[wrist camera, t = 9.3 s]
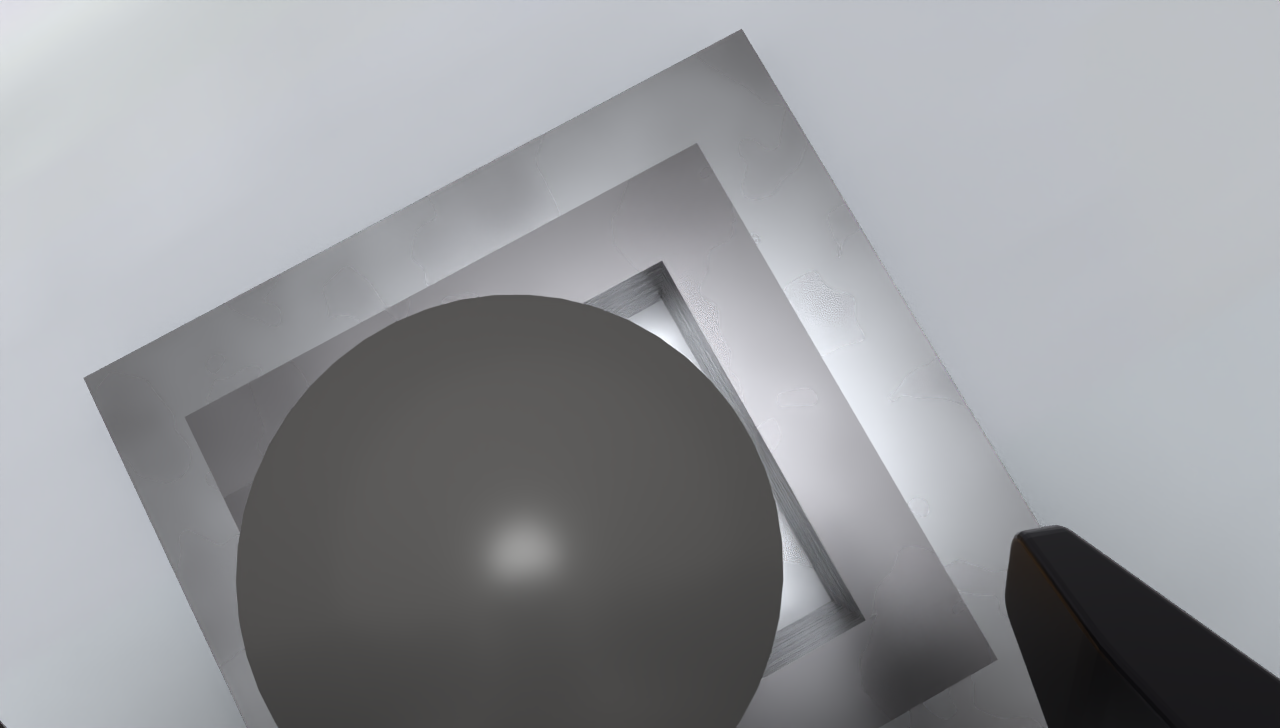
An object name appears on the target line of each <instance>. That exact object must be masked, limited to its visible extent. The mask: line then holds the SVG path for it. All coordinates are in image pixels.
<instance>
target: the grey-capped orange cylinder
mask: <svg viewBox="0 0 1280 728" xmlns="http://www.w3.org/2000/svg"><path fill="white" fill-rule="evenodd" d="M782 589H783V546H782V537H781V531H780V525H779V518H778V512H777V506H776V503H775V499H774V496H773V493H772V489H771V486H770V482H769V479H768V476H767V472H766V470H765V468H764V465H763V463H762V461H761V459H760V456H759V454H758V452H757V450H756V447H755V445H754V443H753V440H752V439H751V437H750V435H749V434H748V432H747V430H746V429H745V427H744V425H743V424H742V422H741V420H740V419H739V417H738V415H737V414H736V412H735V411H734V409H733V408H732V406H731V405H730V404H729V403H728V401H727V400H726V399H725V398H724V396H723V395H722V394H721V393H720V391H719V390H718V389H717V388H716V386H715V385H714V384H713V383H712V381H711V380H710V379H709V378H707V377H706V376H705V375H704V374H703V373H702V372H701V371H700V370H699V369H698V368H697V367H696V366H695V365H694V364H693V363H692V362H691V361H690V360H689V359H688V358H687V357H685V356H684V355H683V354H681V353H680V352H679V351H677V350H676V349H675V348H673V347H672V346H671V345H669V344H668V343H666V342H665V341H664V340H662V339H661V338H660V337H658V336H657V335H655V334H653V333H651V332H649V331H648V330H646V329H644V328H642V327H640V326H639V325H637V324H635V323H633V322H631V321H629V320H628V319H625V318H623V317H620V316H617V315H615V314H612V313H610V312H607V311H605V310H602V309H600V308H597V307H594V306H590V305H586V304H582V303H578V302H574V301H570V300H566V299H562V298H553V297H544V296H536V295H490V296H483V297H476V298H469V299H462V300H457V301H454V302H450V303H446V304H443V305H439V306H436V307H432V308H428V309H425V310H423V311H420V312H418V313H416V314H413V315H411V316H408V317H406V318H404V319H401V320H399V321H396V322H394V323H392V324H391V325H389V326H387V327H385V328H384V329H382V330H380V331H378V332H377V333H375V334H373V335H371V336H370V337H368V338H366V339H364V340H363V341H362V342H360V343H359V344H358V345H356V346H355V347H354V348H352V349H351V350H350V351H348V352H347V353H346V354H344V355H343V356H342V357H340V358H339V359H338V360H336V361H335V362H334V363H333V364H332V365H331V366H330V367H329V368H328V369H327V370H326V371H325V372H324V373H323V374H322V375H321V376H320V377H319V378H318V379H317V380H316V381H315V382H314V383H313V384H312V385H311V386H310V387H309V388H308V389H307V391H306V392H305V393H304V394H303V396H302V397H301V398H300V399H299V401H298V402H297V403H296V404H295V406H294V407H293V408H292V409H291V411H290V412H289V413H288V414H287V416H286V418H285V419H284V421H283V423H282V424H281V426H280V428H279V429H278V431H277V432H276V434H275V436H274V437H273V439H272V441H271V442H270V444H269V446H268V448H267V450H266V453H265V455H264V457H263V459H262V462H261V464H260V466H259V468H258V470H257V473H256V475H255V477H254V480H253V483H252V487H251V490H250V493H249V496H248V500H247V503H246V506H245V509H244V513H243V519H242V525H241V531H240V536H239V542H238V549H237V570H236V592H237V604H238V616H239V623H240V628H241V633H242V637H243V642H244V647H245V652H246V656H247V659H248V662H249V665H250V667H251V670H252V673H253V676H254V679H255V682H256V684H257V687H258V690H259V692H260V694H261V696H262V698H263V700H264V702H265V704H266V706H267V708H268V710H269V712H270V714H271V716H272V718H273V719H274V721H275V723H276V725H277V726H278V728H736V727H737V725H738V724H739V722H740V721H741V719H742V717H743V715H744V713H745V712H746V710H747V708H748V706H749V704H750V702H751V700H752V698H753V697H754V695H755V693H756V691H757V689H758V687H759V684H760V682H761V679H762V676H763V674H764V671H765V668H766V666H767V663H768V660H769V658H770V655H771V652H772V648H773V643H774V639H775V635H776V630H777V626H778V622H779V618H780V609H781V599H782Z"/></svg>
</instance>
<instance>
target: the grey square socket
mask: <svg viewBox="0 0 1280 728" xmlns="http://www.w3.org/2000/svg"><path fill="white" fill-rule="evenodd" d="M490 295H536V296H544V297H553V298H562V299H566V300H570V301H574V302H578V303H582V304H586V305H590V306H594V307H597V308H600V309H602V310H605V311H607V312H610V313H612V314H615V315H617V316H620V317H623V318H625V319H628V320H629V321H631V322H633V323H635V324H637V325H639V326H640V327H642V328H644V329H646V330H648V331H649V332H651V333H653V334H655V335H657V336H658V337H660V338H661V339H662V340H664V341H665V342H666V343H668V344H669V345H671V346H672V347H673V348H675V349H676V350H677V351H679V352H680V353H681V354H683V355H684V356H685V357H687V358H688V359H689V360H690V361H691V362H692V363H693V364H694V365H695V366H696V367H697V368H698V369H699V370H700V371H701V372H702V373H703V374H704V375H705V376H706V377H707V378H709V379H710V380H711V381H712V383H713V384H714V385H715V386H716V388H717V389H718V390H719V391H720V393H721V394H722V395H723V396H724V398H725V399H726V400H727V401H728V403H729V404H730V405H731V406H732V408H733V409H734V411H735V412H736V414H737V415H738V417H739V419H740V420H741V422H742V424H743V425H744V427H745V429H746V430H747V432H748V434H749V435H750V437H751V439H752V440H753V443H754V445H755V447H756V450H757V452H758V454H759V456H760V459H761V461H762V463H763V465H764V468H765V470H766V472H767V476H768V479H769V482H770V486H771V489H772V493H773V496H774V499H775V503H776V506H777V512H778V518H779V525H780V531H781V537H782V546H783V589H782V599H781V609H780V618H779V622H778V626H777V630H776V635H775V639H774V643H773V648H772V652H771V655H770V658H769V660H768V663H767V666H766V668H765V671H764V674H763V676H762V679H761V682H760V684H759V687H758V689H757V691H756V693H755V695H754V697H753V698H752V700H751V702H750V704H749V706H748V708H747V710H746V712H745V713H744V715H743V717H742V719H741V721H740V722H739V724H738V725H737V727H736V728H1048V726H1047V724H1046V721H1045V718H1044V715H1043V712H1042V710H1041V707H1040V704H1039V701H1038V699H1037V696H1036V693H1035V690H1034V687H1033V685H1032V682H1031V679H1030V676H1029V674H1028V671H1027V668H1026V665H1025V663H1024V660H1023V657H1022V654H1021V651H1020V649H1019V646H1018V643H1017V640H1016V638H1015V635H1014V632H1013V629H1012V627H1011V624H1010V621H1009V618H1008V614H1007V610H1006V605H1005V585H1006V577H1007V569H1008V562H1009V554H1010V546H1011V542H1012V538H1013V537H1014V535H1015V534H1016V533H1017V532H1020V531H1023V530H1028V529H1034V528H1040V525H1039V523H1038V522H1037V520H1036V518H1035V517H1034V515H1033V513H1032V512H1031V510H1030V508H1029V507H1028V505H1027V503H1026V502H1025V500H1024V498H1023V497H1022V495H1021V493H1020V492H1019V490H1018V488H1017V487H1016V485H1015V483H1014V482H1013V480H1012V478H1011V477H1010V475H1009V473H1008V472H1007V470H1006V468H1005V467H1004V465H1003V463H1002V462H1001V460H1000V458H999V457H998V455H997V453H996V452H995V450H994V448H993V447H992V445H991V443H990V442H989V440H988V438H987V437H986V435H985V433H984V432H983V430H982V428H981V427H980V425H979V423H978V422H977V420H976V418H975V417H974V415H973V413H972V412H971V410H970V408H969V407H968V405H967V403H966V402H965V400H964V398H963V397H962V395H961V393H960V392H959V390H958V388H957V387H956V385H955V383H954V382H953V380H952V378H951V377H950V375H949V373H948V372H947V370H946V368H945V367H944V365H943V363H942V362H941V360H940V358H939V357H938V355H937V353H936V352H935V350H934V348H933V347H932V345H931V343H930V342H929V340H928V338H927V337H926V335H925V333H924V332H923V330H922V328H921V327H920V325H919V323H918V322H917V320H916V318H915V317H914V315H913V313H912V312H911V310H910V308H909V307H908V305H907V303H906V302H905V300H904V298H903V297H902V295H901V293H900V292H899V290H898V288H897V287H896V285H895V283H894V282H893V280H892V278H891V277H890V275H889V273H888V272H887V270H886V268H885V267H884V265H883V263H882V262H881V260H880V258H879V257H878V255H877V253H876V252H875V250H874V248H873V247H872V245H871V243H870V242H869V240H868V238H867V237H866V235H865V233H864V232H863V230H862V228H861V227H860V225H859V223H858V222H857V220H856V218H855V217H854V215H853V213H852V212H851V210H850V208H849V207H848V205H847V203H846V202H845V200H844V198H843V197H842V195H841V193H840V192H839V190H838V188H837V187H836V185H835V183H834V182H833V180H832V178H831V177H830V175H829V173H828V172H827V170H826V168H825V167H824V165H823V163H822V162H821V160H820V158H819V157H818V155H817V153H816V152H815V150H814V149H813V147H812V145H811V144H810V142H809V140H808V139H807V137H806V135H805V134H804V132H803V130H802V129H801V127H800V125H799V124H798V122H797V120H796V119H795V117H794V115H793V114H792V112H791V110H790V109H789V107H788V105H787V104H786V102H785V100H784V99H783V97H782V95H781V94H780V92H779V90H778V89H777V87H776V85H775V84H774V82H773V80H772V79H771V77H770V75H769V74H768V72H767V70H766V69H765V67H764V65H763V64H762V62H761V60H760V59H759V57H758V55H757V54H756V52H755V50H754V49H753V47H752V45H751V44H750V42H749V40H748V39H747V37H746V35H745V34H744V32H743V30H742V29H741V30H739V31H737V32H735V33H733V34H731V35H729V36H728V37H726V38H724V39H722V40H720V41H718V42H716V43H714V44H713V45H711V46H709V47H707V48H705V49H703V50H701V51H699V52H697V53H696V54H694V55H692V56H690V57H688V58H686V59H684V60H682V61H680V62H679V63H677V64H675V65H673V66H671V67H669V68H667V69H665V70H663V71H662V72H660V73H658V74H656V75H654V76H652V77H650V78H648V79H647V80H645V81H643V82H641V83H639V84H637V85H635V86H633V87H631V88H630V89H628V90H626V91H624V92H622V93H620V94H618V95H616V96H614V97H613V98H611V99H609V100H607V101H605V102H603V103H601V104H599V105H597V106H596V107H594V108H592V109H590V110H588V111H586V112H584V113H582V114H581V115H579V116H577V117H575V118H573V119H571V120H569V121H567V122H565V123H564V124H562V125H560V126H558V127H556V128H554V129H552V130H550V131H548V132H547V133H545V134H543V135H541V136H539V137H537V138H535V139H533V140H531V141H530V142H528V143H526V144H524V145H522V146H520V147H518V148H516V149H514V150H513V151H511V152H509V153H507V154H505V155H503V156H501V157H499V158H498V159H496V160H494V161H492V162H490V163H488V164H486V165H484V166H482V167H481V168H479V169H477V170H475V171H473V172H471V173H469V174H467V175H465V176H464V177H462V178H460V179H458V180H456V181H454V182H452V183H450V184H448V185H447V186H445V187H443V188H441V189H439V190H437V191H435V192H433V193H432V194H430V195H428V196H426V197H424V198H422V199H420V200H418V201H416V202H415V203H413V204H411V205H409V206H407V207H405V208H403V209H401V210H399V211H398V212H396V213H394V214H392V215H390V216H388V217H386V218H384V219H382V220H381V221H379V222H377V223H375V224H373V225H371V226H369V227H367V228H366V229H364V230H362V231H360V232H358V233H356V234H354V235H352V236H350V237H349V238H347V239H345V240H343V241H341V242H339V243H337V244H335V245H333V246H332V247H330V248H328V249H326V250H324V251H322V252H320V253H318V254H316V255H315V256H313V257H311V258H309V259H307V260H305V261H303V262H301V263H300V264H298V265H296V266H294V267H292V268H290V269H288V270H286V271H284V272H283V273H281V274H279V275H277V276H275V277H273V278H271V279H269V280H267V281H266V282H264V283H262V284H260V285H258V286H256V287H254V288H252V289H250V290H249V291H247V292H245V293H243V294H241V295H239V296H237V297H235V298H233V299H232V300H230V301H228V302H226V303H224V304H222V305H220V306H218V307H217V308H215V309H213V310H211V311H209V312H207V313H205V314H203V315H201V316H200V317H198V318H196V319H194V320H192V321H190V322H188V323H186V324H184V325H183V326H181V327H179V328H177V329H175V330H173V331H171V332H169V333H167V334H166V335H164V336H162V337H160V338H158V339H156V340H154V341H152V342H151V343H149V344H147V345H145V346H143V347H141V348H139V349H137V350H135V351H134V352H132V353H130V354H128V355H126V356H124V357H122V358H120V359H118V360H117V361H115V362H113V363H111V364H109V365H107V366H105V367H103V368H101V369H100V370H98V371H96V372H94V373H92V374H90V375H88V376H86V377H85V378H84V380H85V382H86V384H87V386H88V389H89V391H90V393H91V395H92V397H93V399H94V401H95V404H96V406H97V408H98V410H99V412H100V414H101V416H102V418H103V421H104V423H105V425H106V427H107V429H108V431H109V433H110V436H111V438H112V440H113V442H114V444H115V446H116V448H117V451H118V453H119V455H120V457H121V459H122V461H123V463H124V466H125V468H126V470H127V472H128V474H129V476H130V478H131V481H132V483H133V485H134V487H135V489H136V491H137V493H138V495H139V498H140V500H141V502H142V504H143V506H144V508H145V510H146V513H147V515H148V517H149V519H150V521H151V523H152V525H153V528H154V530H155V532H156V534H157V536H158V538H159V540H160V543H161V545H162V547H163V549H164V551H165V553H166V555H167V557H168V560H169V562H170V564H171V566H172V568H173V570H174V572H175V575H176V577H177V579H178V581H179V583H180V585H181V587H182V590H183V592H184V594H185V596H186V598H187V600H188V602H189V605H190V607H191V609H192V611H193V613H194V615H195V617H196V620H197V622H198V624H199V626H200V628H201V630H202V632H203V634H204V637H205V639H206V641H207V643H208V645H209V647H210V649H211V652H212V654H213V656H214V658H215V660H216V662H217V664H218V667H219V669H220V671H221V673H222V675H223V677H224V679H225V682H226V684H227V686H228V688H229V690H230V692H231V694H232V696H233V699H234V701H235V703H236V705H237V707H238V709H239V711H240V714H241V716H242V718H243V720H244V722H245V724H246V726H247V728H278V726H277V725H276V723H275V721H274V719H273V718H272V716H271V714H270V712H269V710H268V708H267V706H266V704H265V702H264V700H263V698H262V696H261V694H260V692H259V690H258V687H257V684H256V682H255V679H254V676H253V673H252V670H251V667H250V665H249V662H248V659H247V656H246V652H245V647H244V642H243V637H242V633H241V628H240V623H239V616H238V604H237V592H236V570H237V549H238V542H239V536H240V531H241V525H242V519H243V513H244V509H245V506H246V503H247V500H248V496H249V493H250V490H251V487H252V483H253V480H254V477H255V475H256V473H257V470H258V468H259V466H260V464H261V462H262V459H263V457H264V455H265V453H266V450H267V448H268V446H269V444H270V442H271V441H272V439H273V437H274V436H275V434H276V432H277V431H278V429H279V428H280V426H281V424H282V423H283V421H284V419H285V418H286V416H287V414H288V413H289V412H290V411H291V409H292V408H293V407H294V406H295V404H296V403H297V402H298V401H299V399H300V398H301V397H302V396H303V394H304V393H305V392H306V391H307V389H308V388H309V387H310V386H311V385H312V384H313V383H314V382H315V381H316V380H317V379H318V378H319V377H320V376H321V375H322V374H323V373H324V372H325V371H326V370H327V369H328V368H329V367H330V366H331V365H332V364H333V363H334V362H335V361H336V360H338V359H339V358H340V357H342V356H343V355H344V354H346V353H347V352H348V351H350V350H351V349H352V348H354V347H355V346H356V345H358V344H359V343H360V342H362V341H363V340H364V339H366V338H368V337H370V336H371V335H373V334H375V333H377V332H378V331H380V330H382V329H384V328H385V327H387V326H389V325H391V324H392V323H394V322H396V321H399V320H401V319H404V318H406V317H408V316H411V315H413V314H416V313H418V312H420V311H423V310H425V309H428V308H432V307H436V306H439V305H443V304H446V303H450V302H454V301H457V300H462V299H469V298H476V297H483V296H490Z"/></svg>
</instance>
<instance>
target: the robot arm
mask: <svg viewBox="0 0 1280 728" xmlns="http://www.w3.org/2000/svg"><path fill="white" fill-rule="evenodd" d="M1005 605H1006V610H1007V614H1008V618H1009V621H1010V624H1011V627H1012V629H1013V632H1014V635H1015V638H1016V640H1017V643H1018V646H1019V649H1020V651H1021V654H1022V657H1023V660H1024V663H1025V665H1026V668H1027V671H1028V674H1029V676H1030V679H1031V682H1032V685H1033V687H1034V690H1035V693H1036V696H1037V699H1038V701H1039V704H1040V707H1041V710H1042V712H1043V715H1044V718H1045V721H1046V724H1047V726H1048V728H1280V679H1279V678H1278V677H1276V676H1275V675H1273V674H1272V673H1271V672H1269V671H1268V670H1266V669H1265V668H1264V667H1262V666H1261V665H1259V664H1258V663H1257V662H1255V661H1254V660H1252V659H1251V658H1250V657H1248V656H1247V655H1245V654H1244V653H1243V652H1241V651H1240V650H1238V649H1237V648H1236V647H1234V646H1233V645H1231V644H1230V643H1229V642H1227V641H1226V640H1224V639H1223V638H1221V637H1220V636H1219V635H1217V634H1216V633H1214V632H1213V631H1212V630H1210V629H1209V628H1207V627H1206V626H1205V625H1203V624H1202V623H1200V622H1199V621H1198V620H1196V619H1195V618H1193V617H1192V616H1191V615H1189V614H1188V613H1186V612H1185V611H1184V610H1182V609H1181V608H1179V607H1178V606H1177V605H1175V604H1174V603H1172V602H1171V601H1170V600H1168V599H1167V598H1165V597H1164V596H1162V595H1161V594H1160V593H1158V592H1157V591H1155V590H1154V589H1153V588H1151V587H1150V586H1148V585H1147V584H1146V583H1144V582H1143V581H1141V580H1140V579H1139V578H1137V577H1136V576H1134V575H1133V574H1132V573H1130V572H1129V571H1127V570H1126V569H1125V568H1123V567H1122V566H1120V565H1119V564H1118V563H1116V562H1115V561H1113V560H1112V559H1111V558H1109V557H1108V556H1106V555H1105V554H1103V553H1102V552H1101V551H1099V550H1098V549H1096V548H1095V547H1094V546H1092V545H1091V544H1089V543H1088V542H1087V541H1085V540H1084V539H1082V538H1081V537H1080V536H1078V535H1077V534H1075V533H1074V532H1073V531H1071V530H1069V529H1068V528H1065V527H1063V526H1059V525H1052V526H1046V527H1040V528H1034V529H1028V530H1023V531H1020V532H1017V533H1016V534H1015V535H1014V537H1013V538H1012V542H1011V546H1010V554H1009V562H1008V569H1007V577H1006V585H1005ZM0 728H6V726H5V725H4V724H3V723H2V722H1V721H0Z"/></svg>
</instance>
